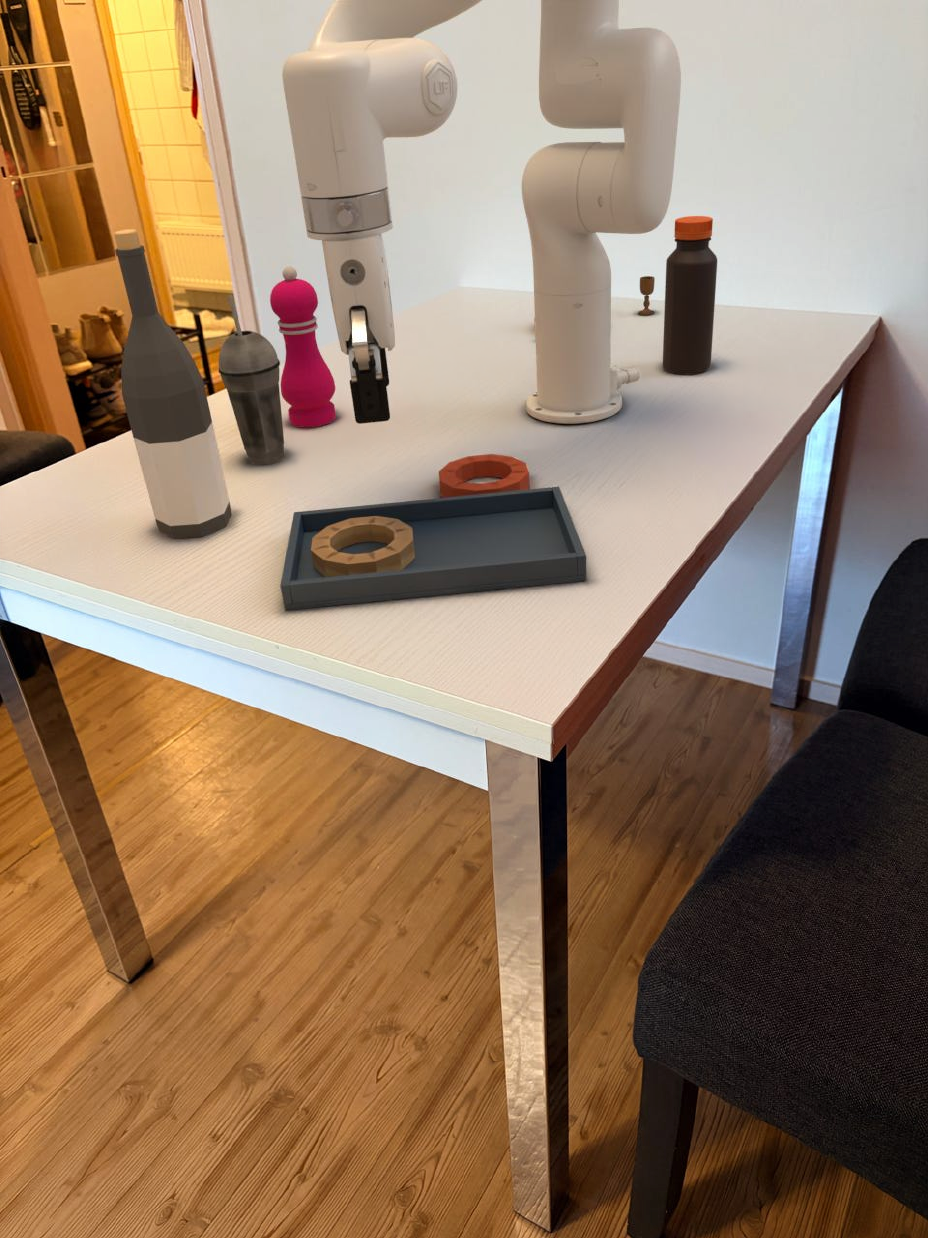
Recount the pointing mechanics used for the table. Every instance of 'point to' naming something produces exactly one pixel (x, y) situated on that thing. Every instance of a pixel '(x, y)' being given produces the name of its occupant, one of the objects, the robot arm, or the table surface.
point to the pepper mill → (302, 353)
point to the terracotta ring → (483, 475)
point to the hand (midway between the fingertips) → (373, 403)
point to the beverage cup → (253, 392)
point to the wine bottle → (168, 411)
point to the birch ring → (358, 532)
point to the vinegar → (690, 298)
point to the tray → (444, 548)
